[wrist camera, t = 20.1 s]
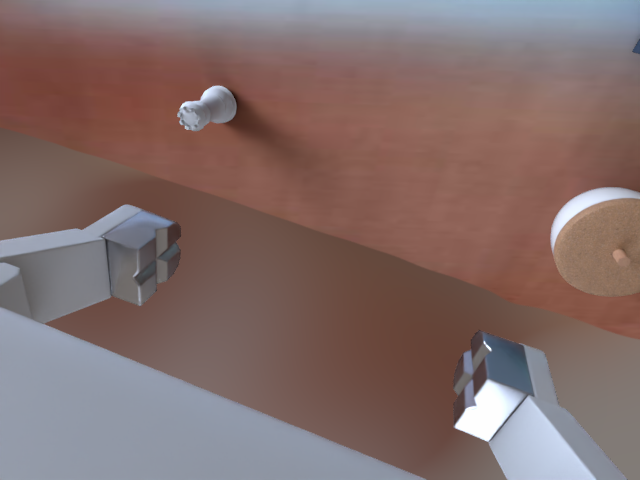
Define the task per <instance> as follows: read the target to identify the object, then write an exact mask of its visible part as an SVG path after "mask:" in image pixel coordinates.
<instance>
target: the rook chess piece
mask: <svg viewBox="0 0 640 480" xmlns="http://www.w3.org/2000/svg"><path fill="white" fill-rule="evenodd" d="M236 108H237V106H236V101H235V98H234V97H233V95H232V93H231V92H230V91H229V90H228V89H226V88H224V87H222V86H213V87H211V88H209V89H208V90H206V91H205V92H204V93H203V95H202V97H201V100H200V101H194V102H185V103H184V104H182V106H181V108H180V112H178V117H180V118H181V121H179V122H180V124H181V125H183V124H184V125H185V129H188V130H192V131H199V130H201V129H203V127H204V126H205V125H206V124H208V123H209V121H212V122H215V123H225V122H228V121H230V120H231V119H233V117H234V116H235V114H236Z"/></svg>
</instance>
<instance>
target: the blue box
mask: <svg viewBox="0 0 640 480" xmlns="http://www.w3.org/2000/svg"><path fill="white" fill-rule="evenodd" d="M632 52H634V53H638V54H640V39H639V41H638V43H637V44H636V46H635V48H634V49H633V51H632Z"/></svg>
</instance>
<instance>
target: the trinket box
mask: <svg viewBox="0 0 640 480" xmlns="http://www.w3.org/2000/svg"><path fill="white" fill-rule="evenodd" d="M551 247H552V252H553V255H554V260H555V264H556V266H557V269H558V271H559V273H560V274H561V276H562V277H563V278H564V279H565V280H566V281H567V282H568V283H569V284H570V285H572V286H573V287H575V288H577V289H579V290H581V291H583V292H586V293H589V294H593V295H599V296H609V297H612V296H624V295H631V294H635V293H638V292H640V192H637V191H634V190H631V189H627V188H620V187H604V188H597V189H593V190H589V191H587V192H584V193H582V194H580V195H578V196H576V197H574V198H573V199H571V200H570V201H569V202H568V203H566V204H565V205H564V206H563V207H562V209H561V210H560V211H559V213H558V214H557V216H556V218H555V219H554V222H553V225H552V229H551Z"/></svg>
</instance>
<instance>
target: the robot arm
mask: <svg viewBox="0 0 640 480" xmlns="http://www.w3.org/2000/svg"><path fill="white" fill-rule="evenodd" d="M180 237H181V226H180V225H179V224H178V223H177V222H175V221H172V220H169V219H167V218H164V217H161V216H159V215H156V214H154V213H151V212H148V211H144V210H143V209H140V208H137V207H134V206H131V205H123V206H122V207H120V208H118V209H117V210H115V211H114V212H112V213H110V214H108V215H107V216H105V217H103V218H102V219H100V220H98V221H97V222H95V223H93V224H92V225H90V226H88V227H87V228H85V229H83V230H79V229H72V230H64V231H59V232H53V233H46V234H40V235H33V236H28V237H21V238H15V239H9V240H2V241H0V480H426V479H424V478H421V477H419V476H416V475H414V474H411V473H409V472H407V471H404V470H402V469H399V468H397V467H394V466H392V465H389V464H387V463H384V462H382V461H379V460H377V459H375V458H372V457H370V456H367V455H364V454H362V453H360V452H357V451H355V450H352V449H350V448H347V447H345V446H343V445H340V444H338V443H335V442H333V441H330V440H328V439H325V438H323V437H320V436H318V435H316V434H313V433H310V432H308V431H306V430H303V429H301V428H298V427H296V426H293V425H291V424H288V423H286V422H283V421H281V420H279V419H276V418H274V417H271V416H269V415H266V414H264V413H261V412H259V411H256V410H254V409H252V408H249V407H247V406H244V405H242V404H239V403H237V402H234V401H232V400H229V399H226V398H224V397H222V396H220V395H217V394H214V393H212V392H210V391H207V390H205V389H202V388H200V387H197V386H195V385H192V384H190V383H188V382H185V381H182V380H180V379H178V378H175V377H173V376H170V375H168V374H165V373H163V372H160V371H158V370H156V369H153V368H150V367H148V366H146V365H143V364H141V363H138V362H136V361H133V360H131V359H128V358H126V357H123V356H121V355H119V354H116V353H114V352H111V351H109V350H106V349H104V348H101V347H99V346H96V345H94V344H91V343H89V342H87V341H84V340H82V339H79V338H77V337H74V336H72V335H69V334H67V333H64V332H62V331H59V330H57V329H55V328H52V327H50V326H47V325H45V324H44V323H46V322H49V321H51V320H54V319H57V318H59V317H62V316H64V315H67V314H69V313H72V312H74V311H77V310H80V309H82V308H85V307H87V306H90V305H92V304H95V303H98V302H100V301H103V300H106V299H108V298H110V297H111V296H114V297H117V298H119V299H122V300H125V301H128V302H131V303H134V304H136V305H139V306H141V305H142V304H143V303H144V302H145V301H146V300H148V299H149V298H150V297H151V296H152V295H153V294H154V293H155V292H156V291H157V284H158V283H161V282H165V281H167V280H168V279H169V278H170V277H171V276H172V275H173V274H174V272H175V270H176V268H177V267H178V264H179V260H180V251H181V250H180V248H179V246H178V245H177V243H176V241H177V240H178V239H179V238H180ZM453 388H454V390H455V392H456V393H457V395H458V397H457V399H456V401H455V402H454V428H457V429H459V430H462V431H464V432H467V433H469V434H471V435H474V436H476V437H478V438H481V439H483V440H486V441H488V442H489V445H490V447H491V449H492V451H493V453H494V455H495V457H496V459H497V461H498V463H499V465H500V467H501V468H502V470H503V472H504V474H505V476H506V478H507V480H627V479H626V477H625V476H624V475H623V474H622V473H621V472H620V471H619V469H618V468H617V467H616V466H615V465H614V463H613V462H612V461H611V460H610V459H609V458H608V457H607V455H606V454H605V453H604V452H603V451H602V450H601V448H600V447H599V446H598V445H597V444H596V443H595V441H594V440H593V439H592V438H591V437H590V436H589V435H588V434H587V432H586V431H585V430H584V429H583V428H582V426H580V424H579V423H578V422H577V421H576V420H575V418H574V417H573V416H572V415H571V414H570V413H569V412H568V410H567V409H565V408H562V407H560V406H559V402H558V398H557V395H556V391H555V388H554V384H553V381H552V377H551V373H550V370H549V366H548V362H547V359H546V355H545V354H544V352H543V351H541V350H539V349H536V348H532V347H529V346H526V345H523V344H518V343H516V342H513V341H509V340H507V339H504V338H501V337H498V336H495V335H492V334H490V333H487V332H484V331H481V330H479V331H478V332H476V333H475V335H474V336H473V338H472V339H471V350H469V351H466V352H464V353H463V354H462V356H461V358H460V359H459V361H458V364H457V367H456V370H455V374H454V385H453Z"/></svg>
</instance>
